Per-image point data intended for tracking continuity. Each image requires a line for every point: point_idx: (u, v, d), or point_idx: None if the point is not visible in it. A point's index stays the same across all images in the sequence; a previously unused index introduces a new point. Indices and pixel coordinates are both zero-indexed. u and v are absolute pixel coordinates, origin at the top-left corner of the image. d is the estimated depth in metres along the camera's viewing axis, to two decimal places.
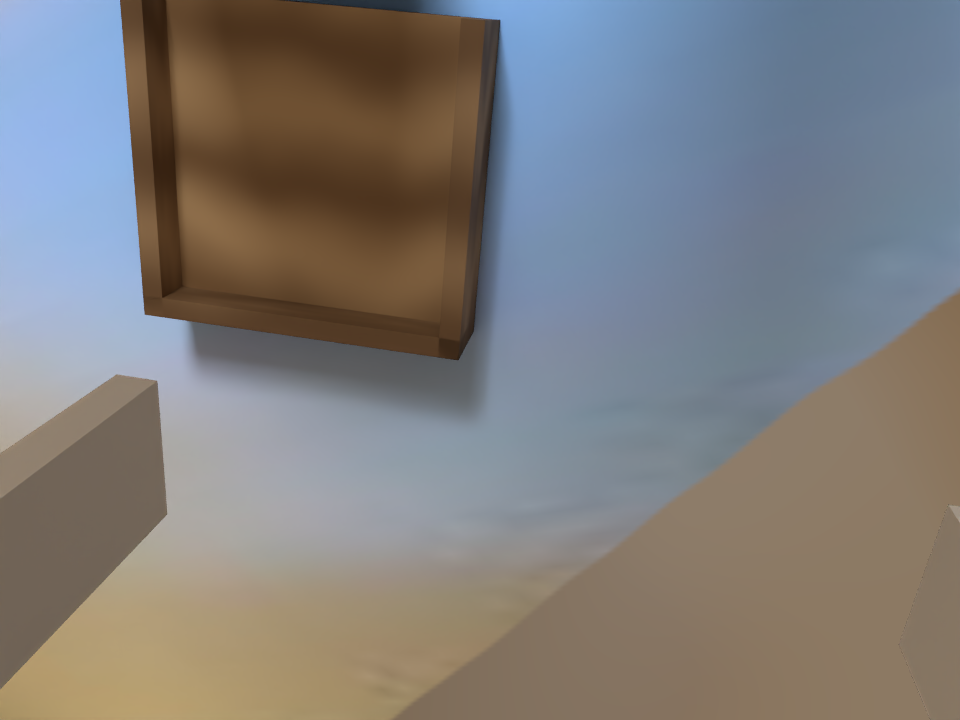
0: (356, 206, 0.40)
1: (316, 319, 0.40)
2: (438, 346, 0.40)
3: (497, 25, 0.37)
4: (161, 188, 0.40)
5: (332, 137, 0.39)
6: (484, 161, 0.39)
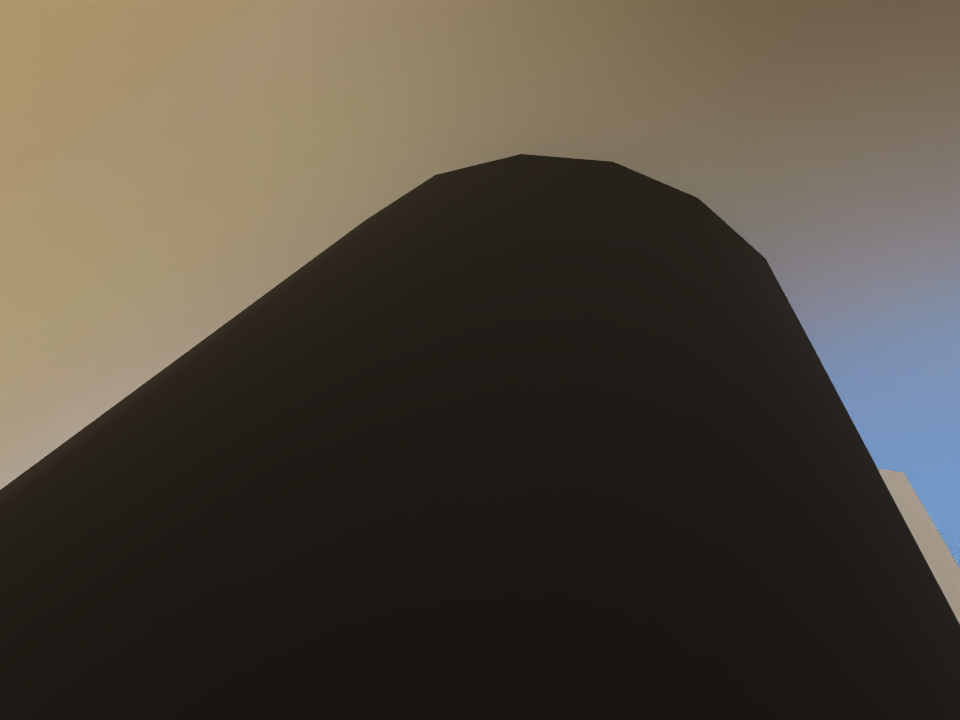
0: None
1: None
2: None
3: None
4: None
5: None
6: None
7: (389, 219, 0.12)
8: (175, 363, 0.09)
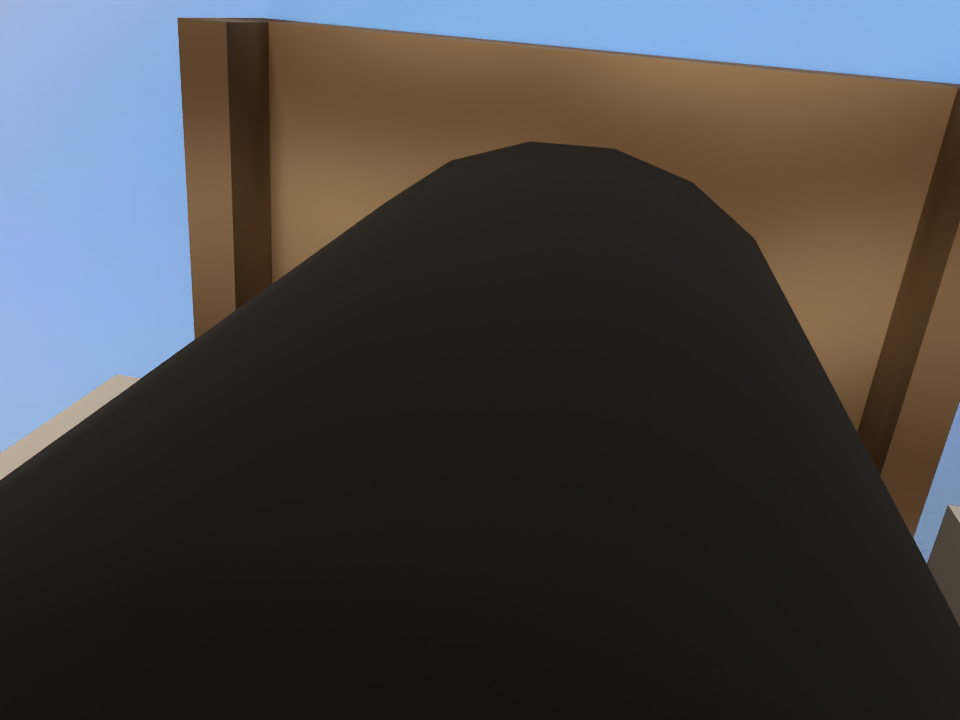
0: None
1: None
2: None
3: None
4: None
5: None
6: None
7: (413, 196, 0.13)
8: (233, 313, 0.10)
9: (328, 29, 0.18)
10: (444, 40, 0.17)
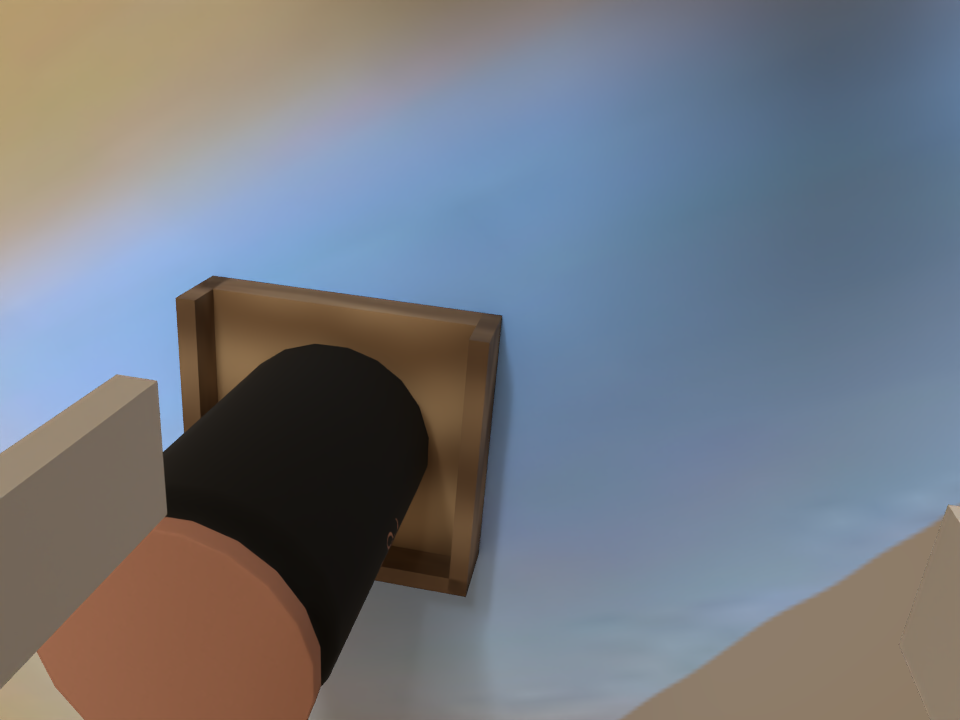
0: None
1: None
2: (448, 585, 0.46)
3: (499, 323, 0.43)
4: None
5: None
6: (488, 428, 0.45)
7: (256, 379, 0.39)
8: (191, 428, 0.36)
9: (237, 293, 0.43)
10: (283, 299, 0.43)
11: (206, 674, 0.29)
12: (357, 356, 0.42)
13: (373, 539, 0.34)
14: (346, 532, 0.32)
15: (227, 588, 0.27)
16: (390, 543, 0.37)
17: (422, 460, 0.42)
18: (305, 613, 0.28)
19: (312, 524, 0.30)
